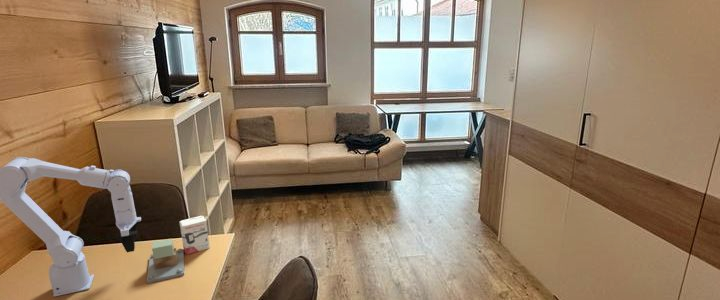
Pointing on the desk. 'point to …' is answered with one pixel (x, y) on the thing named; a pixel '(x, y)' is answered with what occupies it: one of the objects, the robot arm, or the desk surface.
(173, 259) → the walnut brick
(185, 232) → the ink box
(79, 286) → the robot arm
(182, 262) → the baseplate
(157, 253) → the sage brick
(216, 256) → the desk surface
